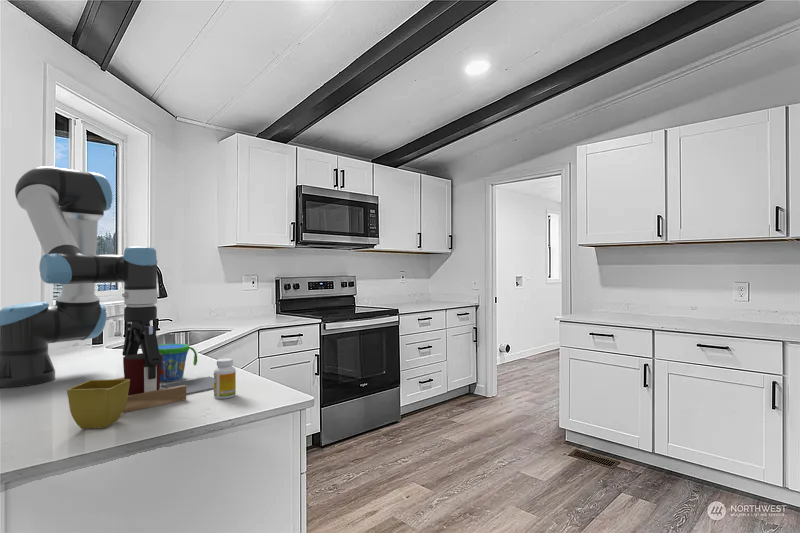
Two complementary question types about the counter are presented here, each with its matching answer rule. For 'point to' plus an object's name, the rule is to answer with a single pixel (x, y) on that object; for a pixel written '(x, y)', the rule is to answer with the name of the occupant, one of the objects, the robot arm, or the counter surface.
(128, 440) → the counter surface
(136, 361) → the mug
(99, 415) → the flower pot
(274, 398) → the counter surface
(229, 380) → the supplement bottle
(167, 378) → the snack cup
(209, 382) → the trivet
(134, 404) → the oak caddy
